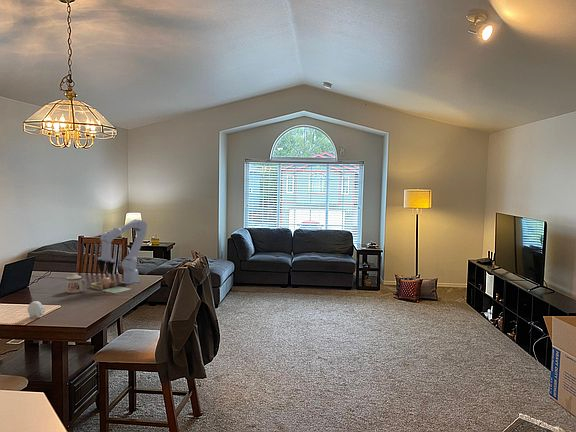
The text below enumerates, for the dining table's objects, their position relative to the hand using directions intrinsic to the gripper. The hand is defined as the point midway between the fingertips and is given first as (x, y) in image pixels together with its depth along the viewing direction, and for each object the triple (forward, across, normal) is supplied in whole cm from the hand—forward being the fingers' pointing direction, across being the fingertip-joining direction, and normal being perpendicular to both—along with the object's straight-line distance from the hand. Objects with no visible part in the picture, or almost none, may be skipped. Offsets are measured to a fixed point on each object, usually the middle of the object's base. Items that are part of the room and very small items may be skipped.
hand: (105, 272), depth 301 cm
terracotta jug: (+10, 0, +1) cm, 10 cm away
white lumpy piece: (+14, +25, -58) cm, 65 cm away
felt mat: (+10, +12, 0) cm, 16 cm away
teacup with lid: (+12, -6, -16) cm, 21 cm away
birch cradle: (+10, -2, 0) cm, 10 cm away
